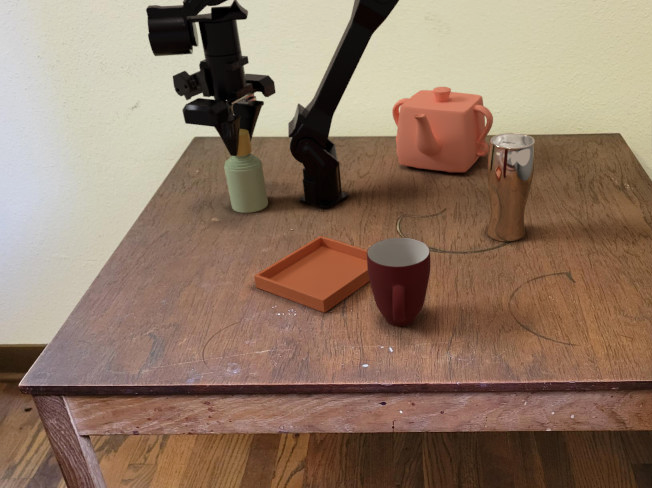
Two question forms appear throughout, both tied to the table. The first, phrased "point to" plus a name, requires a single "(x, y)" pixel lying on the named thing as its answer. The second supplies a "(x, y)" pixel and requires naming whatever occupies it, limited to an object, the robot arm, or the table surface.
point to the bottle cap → (244, 143)
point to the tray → (317, 274)
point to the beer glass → (509, 184)
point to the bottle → (246, 183)
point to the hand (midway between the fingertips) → (240, 151)
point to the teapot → (441, 130)
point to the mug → (399, 278)
